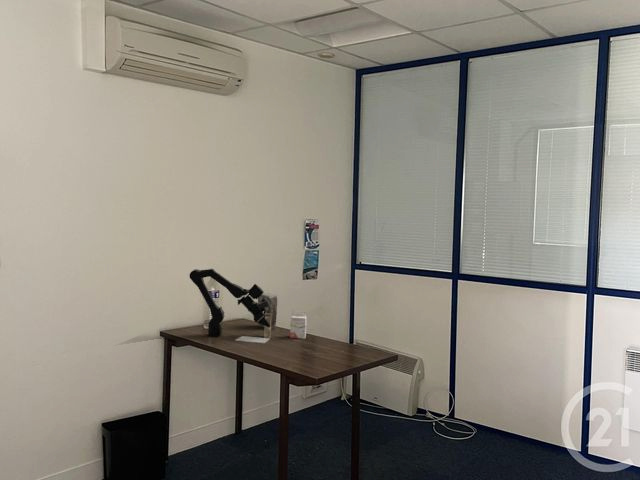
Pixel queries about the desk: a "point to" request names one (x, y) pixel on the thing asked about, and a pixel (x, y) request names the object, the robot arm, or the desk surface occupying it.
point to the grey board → (252, 339)
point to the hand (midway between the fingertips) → (270, 325)
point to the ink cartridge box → (298, 324)
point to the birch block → (267, 329)
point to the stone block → (270, 307)
